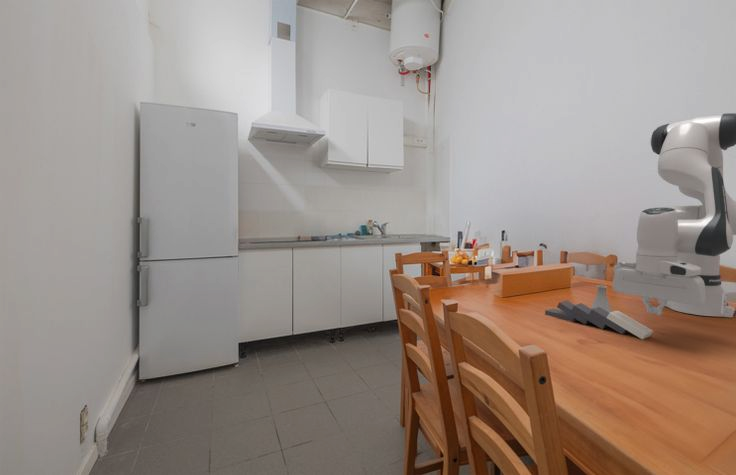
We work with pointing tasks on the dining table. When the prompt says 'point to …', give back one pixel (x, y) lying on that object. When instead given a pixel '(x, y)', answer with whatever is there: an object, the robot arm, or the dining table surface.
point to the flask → (601, 299)
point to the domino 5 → (629, 324)
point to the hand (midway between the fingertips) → (654, 313)
